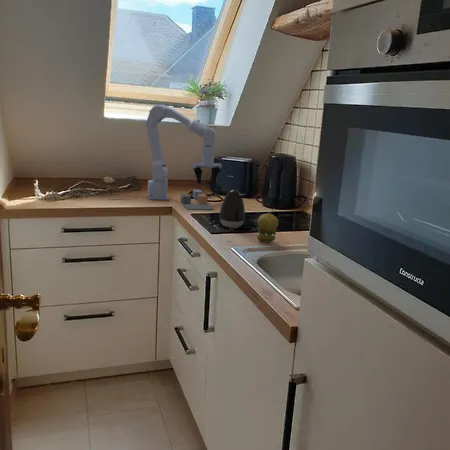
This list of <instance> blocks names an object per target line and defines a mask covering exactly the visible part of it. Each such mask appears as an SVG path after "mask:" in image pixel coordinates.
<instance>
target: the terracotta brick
mask: <svg viewBox="0 0 450 450" xmlns="http://www.w3.org/2000/svg"><path fill="white" fill-rule="evenodd" d="M208 197H209V196H207V194H205V193H203V194H198V196H197V200H196V203H197V204H208V199H209V198H208Z"/></svg>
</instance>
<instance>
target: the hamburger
mask: <svg viewBox="0 0 450 450" xmlns="http://www.w3.org/2000/svg"><path fill="white" fill-rule="evenodd" d="M257 225H258V226H259V227H257V229H258V231H257V233H258V235H256V238H257V240H258V241H259V242H263V241H267V242H266V243H268V241H270V242H274V241H275V240H276V238H277V237H276V235H277V233H276V232H277V227H278V226H279V220H278V218H277V217H276V216H275V215H274V214H272V213H271V212H266V213H263V214H261V215H260V216H258V218H257Z"/></svg>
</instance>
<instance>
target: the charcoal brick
mask: <svg viewBox="0 0 450 450" xmlns="http://www.w3.org/2000/svg"><path fill="white" fill-rule="evenodd" d="M180 203H181V204H182V205H183V204H192V196H191V195H190V194H189V193H181V194H180Z"/></svg>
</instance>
